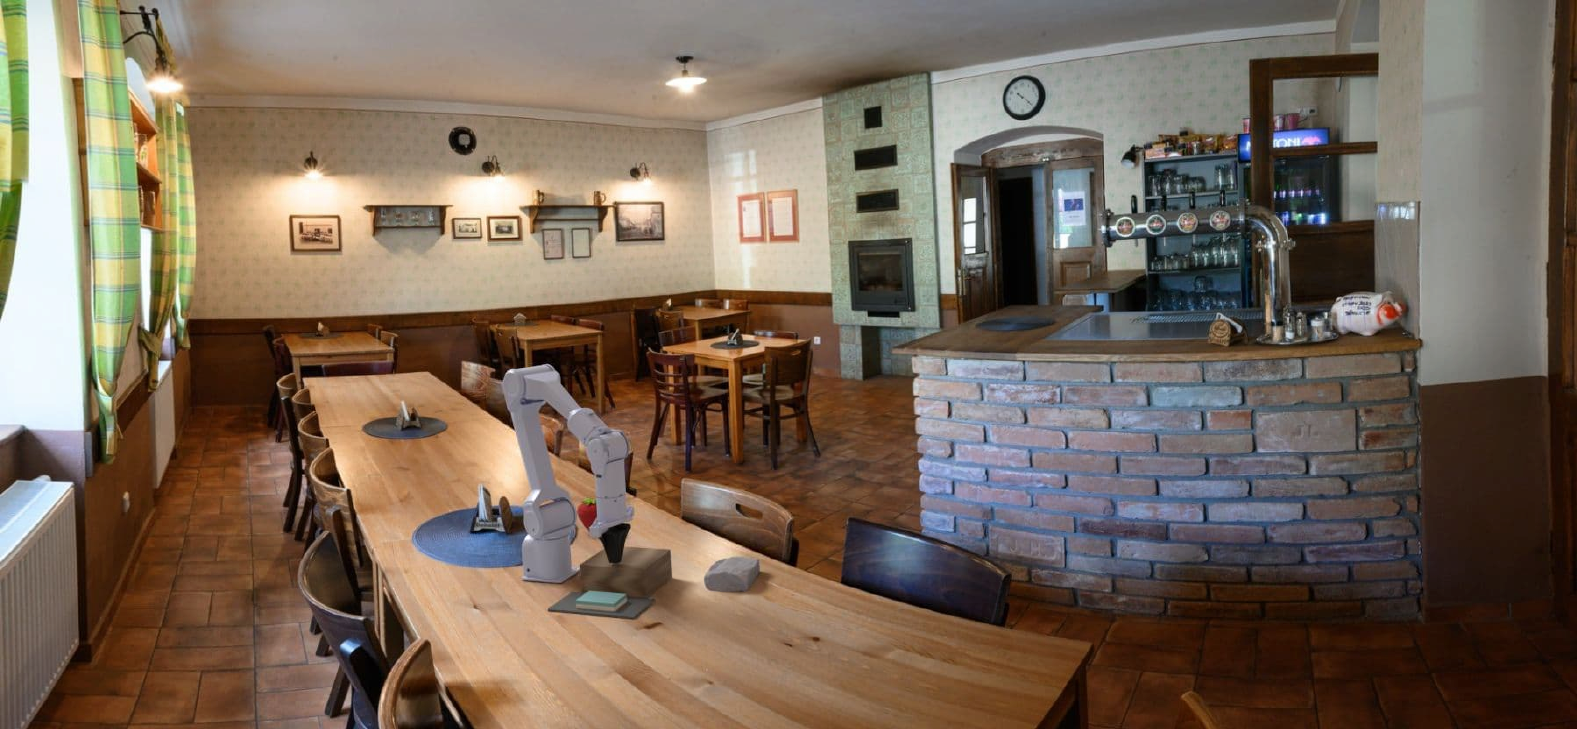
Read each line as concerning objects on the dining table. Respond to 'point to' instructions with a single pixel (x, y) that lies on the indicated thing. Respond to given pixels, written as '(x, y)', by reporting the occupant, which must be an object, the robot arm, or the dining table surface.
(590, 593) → the teal and white sponge
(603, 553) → the riser
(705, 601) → the dining table surface
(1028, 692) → the dining table surface
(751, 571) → the stone block
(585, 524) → the strawberry
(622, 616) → the mat
